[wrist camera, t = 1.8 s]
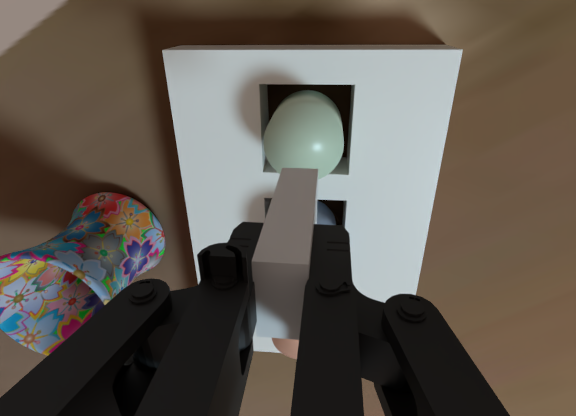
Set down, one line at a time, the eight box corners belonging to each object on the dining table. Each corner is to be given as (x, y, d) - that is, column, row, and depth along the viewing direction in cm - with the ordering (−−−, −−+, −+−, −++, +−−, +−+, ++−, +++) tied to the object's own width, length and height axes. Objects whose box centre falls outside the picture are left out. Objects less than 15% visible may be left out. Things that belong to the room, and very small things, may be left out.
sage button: (273, 157, 27) (264, 180, 24) (271, 89, 25) (261, 103, 22) (339, 159, 27) (341, 183, 23) (343, 90, 25) (346, 104, 21)
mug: (140, 170, 31) (60, 238, 22) (191, 257, 35) (140, 348, 26) (30, 208, 34) (-82, 283, 25) (88, 285, 38) (10, 375, 29)
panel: (217, 320, 39) (207, 347, 36) (181, 45, 26) (162, 50, 23) (396, 332, 37) (402, 361, 34) (446, 44, 25) (462, 49, 22)
